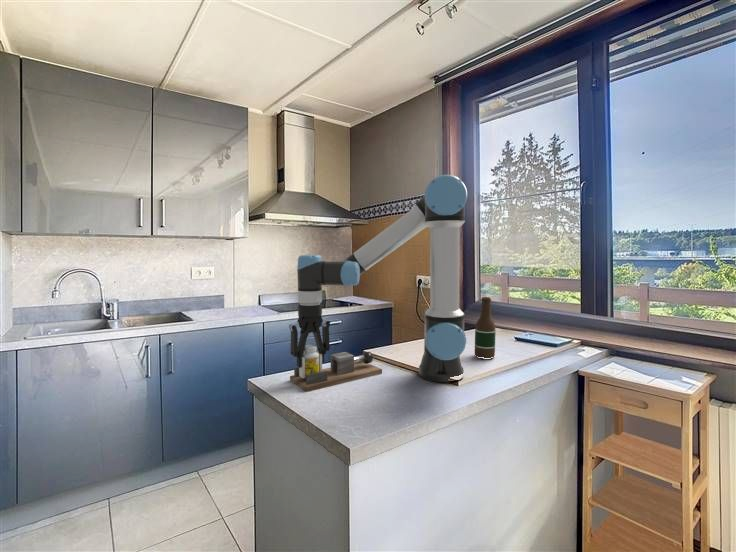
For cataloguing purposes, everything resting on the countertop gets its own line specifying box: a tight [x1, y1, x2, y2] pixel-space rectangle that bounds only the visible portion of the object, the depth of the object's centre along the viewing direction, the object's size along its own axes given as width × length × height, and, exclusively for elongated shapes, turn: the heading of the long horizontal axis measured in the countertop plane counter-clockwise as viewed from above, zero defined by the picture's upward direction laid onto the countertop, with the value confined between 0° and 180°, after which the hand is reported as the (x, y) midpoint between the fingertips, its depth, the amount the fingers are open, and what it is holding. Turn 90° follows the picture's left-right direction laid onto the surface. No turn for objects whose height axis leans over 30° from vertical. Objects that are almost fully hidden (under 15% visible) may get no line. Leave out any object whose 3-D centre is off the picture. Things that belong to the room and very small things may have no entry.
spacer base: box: [289, 351, 383, 393], centre depth 131 cm, size 12×29×7 cm, turn 126°
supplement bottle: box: [303, 344, 319, 377], centre depth 125 cm, size 5×5×10 cm
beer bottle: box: [474, 296, 497, 358], centre depth 154 cm, size 8×8×24 cm
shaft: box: [336, 351, 374, 366], centre depth 135 cm, size 4×13×4 cm, turn 126°
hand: (310, 374), depth 125 cm, fingers closed on supplement bottle, 5 cm apart
